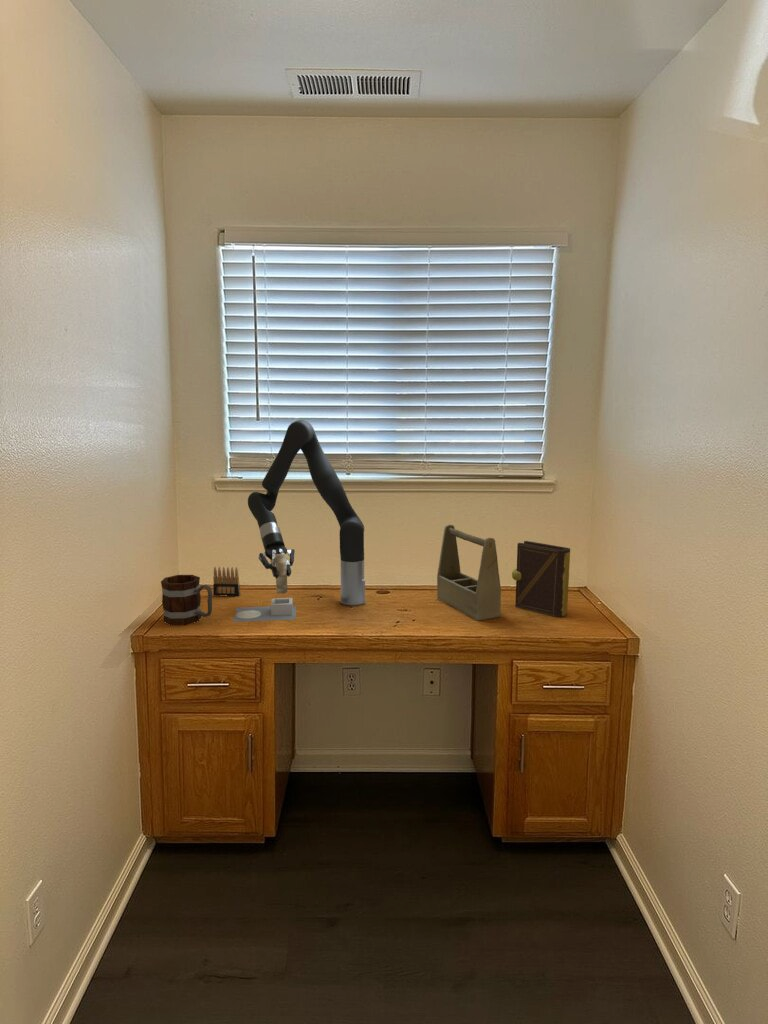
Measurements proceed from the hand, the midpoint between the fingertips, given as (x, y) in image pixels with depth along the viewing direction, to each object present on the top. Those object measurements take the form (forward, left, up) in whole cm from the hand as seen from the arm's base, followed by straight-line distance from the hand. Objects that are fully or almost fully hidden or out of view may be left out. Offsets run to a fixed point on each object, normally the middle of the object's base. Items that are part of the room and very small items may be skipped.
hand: (283, 576), depth 238 cm
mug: (+34, -1, -16) cm, 37 cm away
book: (-95, +3, -16) cm, 97 cm away
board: (+7, -1, -16) cm, 17 cm away
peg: (+1, -2, -7) cm, 7 cm away
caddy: (-69, -3, -16) cm, 71 cm away
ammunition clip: (+24, -30, -16) cm, 41 cm away
